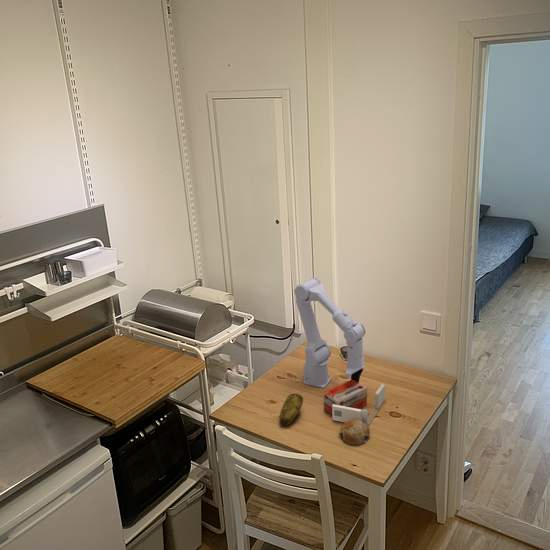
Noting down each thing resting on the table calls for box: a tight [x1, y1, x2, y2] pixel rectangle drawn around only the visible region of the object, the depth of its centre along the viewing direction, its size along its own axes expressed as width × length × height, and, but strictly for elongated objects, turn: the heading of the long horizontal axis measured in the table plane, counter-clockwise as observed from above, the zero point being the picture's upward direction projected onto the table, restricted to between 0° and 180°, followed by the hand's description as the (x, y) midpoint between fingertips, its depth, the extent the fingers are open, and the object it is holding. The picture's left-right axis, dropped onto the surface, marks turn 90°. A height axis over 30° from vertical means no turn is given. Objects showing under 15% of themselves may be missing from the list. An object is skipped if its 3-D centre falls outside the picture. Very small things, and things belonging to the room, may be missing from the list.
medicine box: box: [323, 379, 368, 415], centre depth 219 cm, size 15×8×8 cm, turn 126°
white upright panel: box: [361, 383, 386, 426], centre depth 215 cm, size 2×21×7 cm, turn 151°
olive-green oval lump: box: [279, 393, 304, 426], centre depth 215 cm, size 8×13×8 cm, turn 135°
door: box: [331, 404, 362, 423], centre depth 210 cm, size 1×11×6 cm, turn 66°
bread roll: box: [338, 420, 371, 446], centre depth 203 cm, size 10×10×8 cm
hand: (355, 385), depth 226 cm, fingers closed
